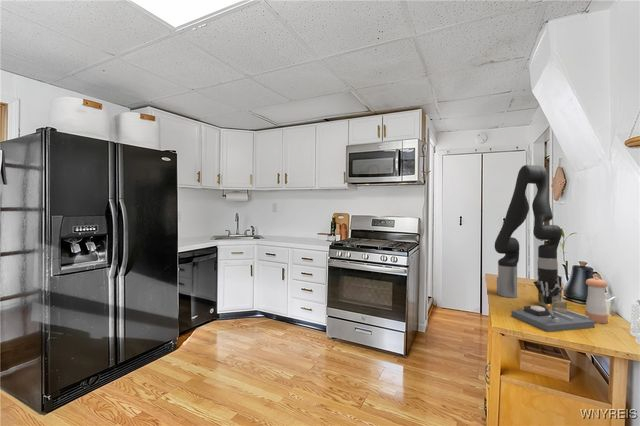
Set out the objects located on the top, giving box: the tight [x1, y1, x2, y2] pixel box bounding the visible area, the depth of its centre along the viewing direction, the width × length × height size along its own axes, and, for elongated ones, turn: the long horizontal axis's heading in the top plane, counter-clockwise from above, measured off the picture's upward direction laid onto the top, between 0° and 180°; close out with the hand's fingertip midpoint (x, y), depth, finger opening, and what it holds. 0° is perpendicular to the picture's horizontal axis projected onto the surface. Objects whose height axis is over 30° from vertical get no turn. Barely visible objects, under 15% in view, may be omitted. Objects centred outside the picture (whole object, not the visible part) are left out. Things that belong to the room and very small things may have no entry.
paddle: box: [552, 300, 568, 313], centre depth 132 cm, size 2×6×5 cm, turn 100°
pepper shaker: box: [584, 276, 609, 324], centre depth 129 cm, size 7×7×19 cm
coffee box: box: [537, 275, 563, 308], centre depth 149 cm, size 9×6×16 cm
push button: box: [530, 305, 546, 311], centre depth 132 cm, size 5×5×2 cm
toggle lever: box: [545, 304, 555, 319], centre depth 122 cm, size 2×2×6 cm
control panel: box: [511, 305, 596, 333], centre depth 129 cm, size 18×23×4 cm
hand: (547, 303), depth 138 cm, fingers closed
